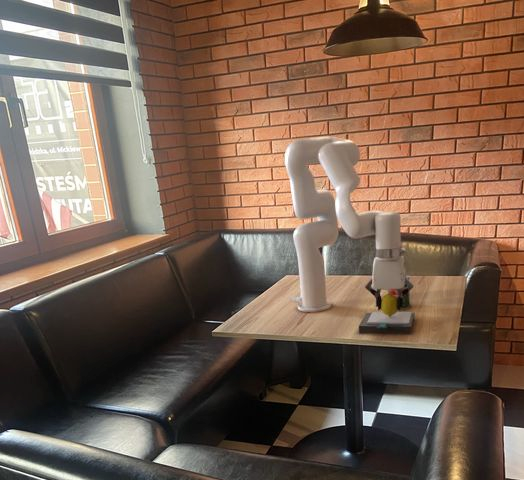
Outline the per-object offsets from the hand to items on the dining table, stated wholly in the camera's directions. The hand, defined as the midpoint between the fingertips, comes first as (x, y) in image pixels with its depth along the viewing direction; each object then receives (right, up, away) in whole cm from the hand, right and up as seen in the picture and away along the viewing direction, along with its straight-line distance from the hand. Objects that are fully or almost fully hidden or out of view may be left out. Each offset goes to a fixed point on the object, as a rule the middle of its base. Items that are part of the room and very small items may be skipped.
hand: (389, 308), depth 172 cm
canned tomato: (+8, +2, +21) cm, 22 cm away
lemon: (0, -3, +1) cm, 3 cm away
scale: (-1, -6, +1) cm, 6 cm away
